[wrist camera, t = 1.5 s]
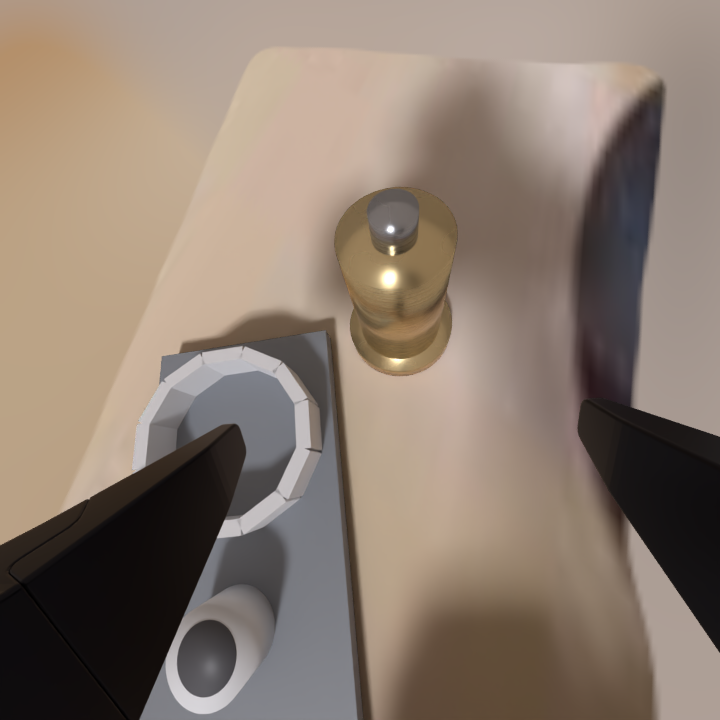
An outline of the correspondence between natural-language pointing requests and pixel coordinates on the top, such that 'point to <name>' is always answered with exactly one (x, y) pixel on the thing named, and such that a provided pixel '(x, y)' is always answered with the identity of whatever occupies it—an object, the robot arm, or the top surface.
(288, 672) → the board
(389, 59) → the top surface
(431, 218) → the gold pepper grinder
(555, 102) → the top surface
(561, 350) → the top surface
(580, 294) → the top surface
